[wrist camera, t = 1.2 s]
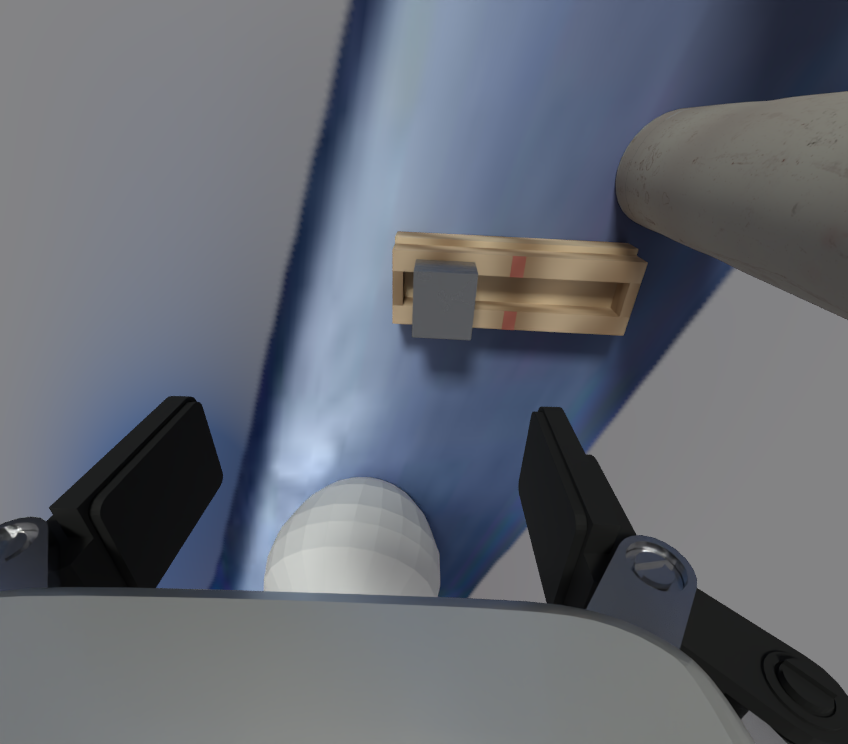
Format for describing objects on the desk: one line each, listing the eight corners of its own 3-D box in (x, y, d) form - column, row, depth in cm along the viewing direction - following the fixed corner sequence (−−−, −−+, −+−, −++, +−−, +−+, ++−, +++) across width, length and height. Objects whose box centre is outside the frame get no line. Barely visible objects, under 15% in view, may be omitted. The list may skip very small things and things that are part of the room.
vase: (274, 458, 47) (72, 851, 21) (427, 442, 44) (409, 858, 19) (321, 554, 56) (220, 908, 30) (450, 544, 54) (458, 917, 28)
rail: (397, 312, 36) (392, 331, 33) (397, 231, 33) (392, 243, 29) (603, 323, 36) (621, 343, 33) (628, 243, 32) (650, 256, 29)
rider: (415, 310, 34) (411, 337, 29) (417, 251, 31) (413, 271, 27) (467, 313, 34) (470, 340, 29) (473, 254, 31) (478, 274, 27)
